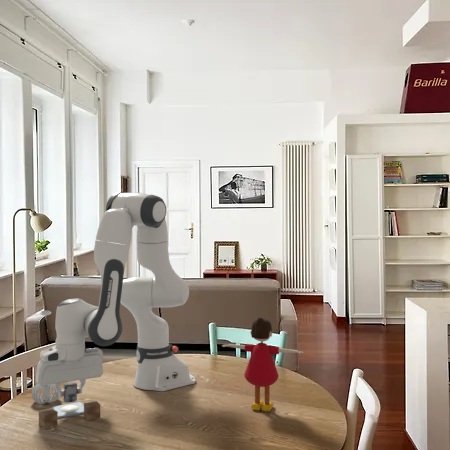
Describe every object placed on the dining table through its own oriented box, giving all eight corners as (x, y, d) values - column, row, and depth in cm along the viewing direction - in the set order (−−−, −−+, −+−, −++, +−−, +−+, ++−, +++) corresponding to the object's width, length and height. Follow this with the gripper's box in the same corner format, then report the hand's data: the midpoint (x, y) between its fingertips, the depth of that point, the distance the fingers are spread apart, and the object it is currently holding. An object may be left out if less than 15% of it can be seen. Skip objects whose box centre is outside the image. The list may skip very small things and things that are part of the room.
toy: (305, 409, 169) (306, 315, 169) (299, 422, 159) (299, 322, 158) (226, 399, 178) (226, 310, 177) (215, 411, 168) (215, 316, 167)
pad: (80, 403, 174) (80, 401, 174) (87, 413, 166) (87, 410, 166) (52, 408, 170) (52, 406, 170) (58, 418, 162) (58, 416, 162)
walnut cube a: (96, 413, 166) (96, 400, 166) (100, 417, 162) (100, 404, 162) (83, 416, 164) (83, 403, 164) (87, 420, 161) (87, 407, 160)
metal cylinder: (78, 401, 166) (78, 385, 166) (65, 403, 164) (65, 387, 164) (75, 397, 170) (75, 381, 170) (62, 399, 168) (62, 383, 168)
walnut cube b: (51, 421, 160) (51, 408, 160) (57, 425, 157) (57, 411, 157) (38, 424, 157) (38, 411, 157) (44, 428, 154) (44, 415, 154)
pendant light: (52, 407, 171) (51, 314, 170) (25, 405, 172) (24, 313, 172) (66, 397, 180) (65, 309, 179) (41, 395, 182) (40, 308, 181)
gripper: (99, 344, 175) (100, 386, 175) (34, 352, 165) (35, 397, 165) (105, 349, 169) (105, 392, 169) (38, 357, 159) (38, 403, 159)
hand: (70, 394), depth 167 cm, fingers closed on metal cylinder, 4 cm apart
